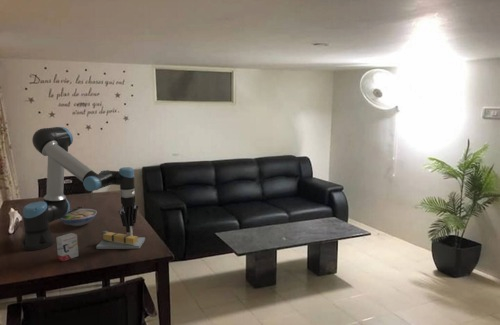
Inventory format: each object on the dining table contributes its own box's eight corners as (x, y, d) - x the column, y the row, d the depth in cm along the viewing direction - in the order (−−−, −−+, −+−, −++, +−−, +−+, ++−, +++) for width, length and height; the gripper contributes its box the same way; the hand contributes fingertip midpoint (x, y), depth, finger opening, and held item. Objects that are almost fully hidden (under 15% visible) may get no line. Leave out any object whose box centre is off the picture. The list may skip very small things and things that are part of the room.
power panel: (96, 249, 208) (96, 245, 207) (104, 240, 220) (104, 237, 220) (139, 248, 208) (139, 245, 208) (145, 239, 221) (144, 236, 221)
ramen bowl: (82, 232, 233) (81, 219, 232) (49, 229, 238) (48, 217, 237) (105, 219, 258) (105, 208, 256) (75, 217, 262) (74, 206, 261)
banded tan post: (100, 240, 214) (99, 232, 214) (105, 237, 218) (105, 230, 217) (133, 245, 207) (132, 237, 206) (138, 242, 211) (137, 234, 210)
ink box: (63, 262, 191) (61, 239, 189) (57, 259, 194) (55, 237, 192) (79, 256, 198) (77, 234, 196) (73, 254, 201) (71, 232, 199)
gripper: (124, 199, 202) (126, 242, 206) (141, 194, 213) (143, 234, 217) (113, 198, 205) (116, 240, 209) (131, 192, 216) (133, 232, 220)
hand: (130, 237), depth 213 cm, fingers closed
